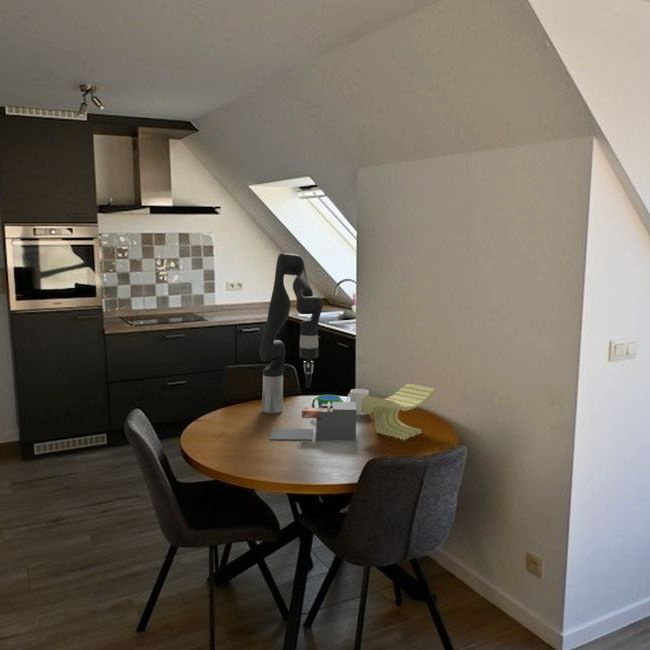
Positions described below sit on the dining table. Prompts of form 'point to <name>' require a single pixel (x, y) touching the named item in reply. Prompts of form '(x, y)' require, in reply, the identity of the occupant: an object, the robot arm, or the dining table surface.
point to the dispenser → (337, 422)
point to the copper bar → (312, 412)
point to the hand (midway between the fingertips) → (308, 385)
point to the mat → (291, 434)
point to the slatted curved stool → (396, 409)
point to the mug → (358, 398)
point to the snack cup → (326, 400)
